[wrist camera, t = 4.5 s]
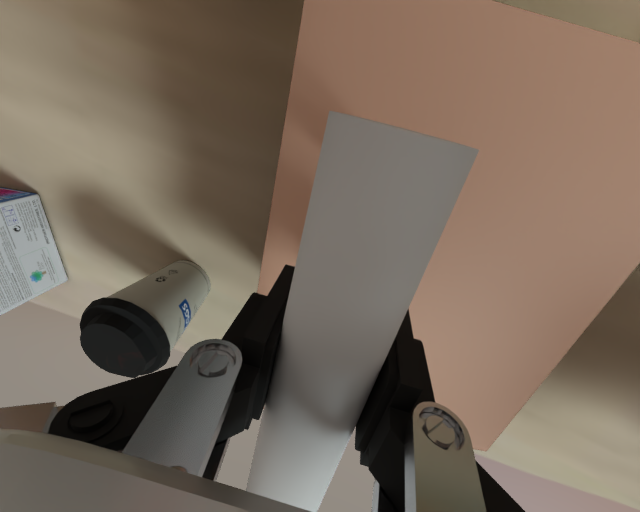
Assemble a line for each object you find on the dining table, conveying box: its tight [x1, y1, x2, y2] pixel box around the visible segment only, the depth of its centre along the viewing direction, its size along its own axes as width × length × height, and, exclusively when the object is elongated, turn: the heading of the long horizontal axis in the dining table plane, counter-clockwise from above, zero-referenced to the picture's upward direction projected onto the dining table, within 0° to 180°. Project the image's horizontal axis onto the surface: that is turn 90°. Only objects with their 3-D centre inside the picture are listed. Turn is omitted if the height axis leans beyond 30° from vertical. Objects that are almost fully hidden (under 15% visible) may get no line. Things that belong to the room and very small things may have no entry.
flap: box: [246, 0, 640, 512], centre depth 11 cm, size 16×21×8 cm
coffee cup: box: [80, 261, 210, 378], centre depth 26 cm, size 7×7×10 cm
